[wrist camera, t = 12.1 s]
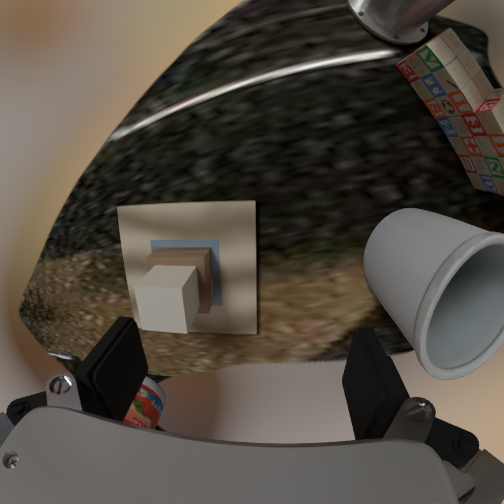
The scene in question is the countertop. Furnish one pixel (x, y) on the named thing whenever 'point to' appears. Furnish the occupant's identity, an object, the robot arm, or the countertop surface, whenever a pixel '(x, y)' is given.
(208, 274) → the walnut foundation
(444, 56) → the stack of blocks
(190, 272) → the cream block
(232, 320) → the board
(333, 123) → the countertop surface
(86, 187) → the countertop surface
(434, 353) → the utensil holder
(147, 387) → the fruit juice
